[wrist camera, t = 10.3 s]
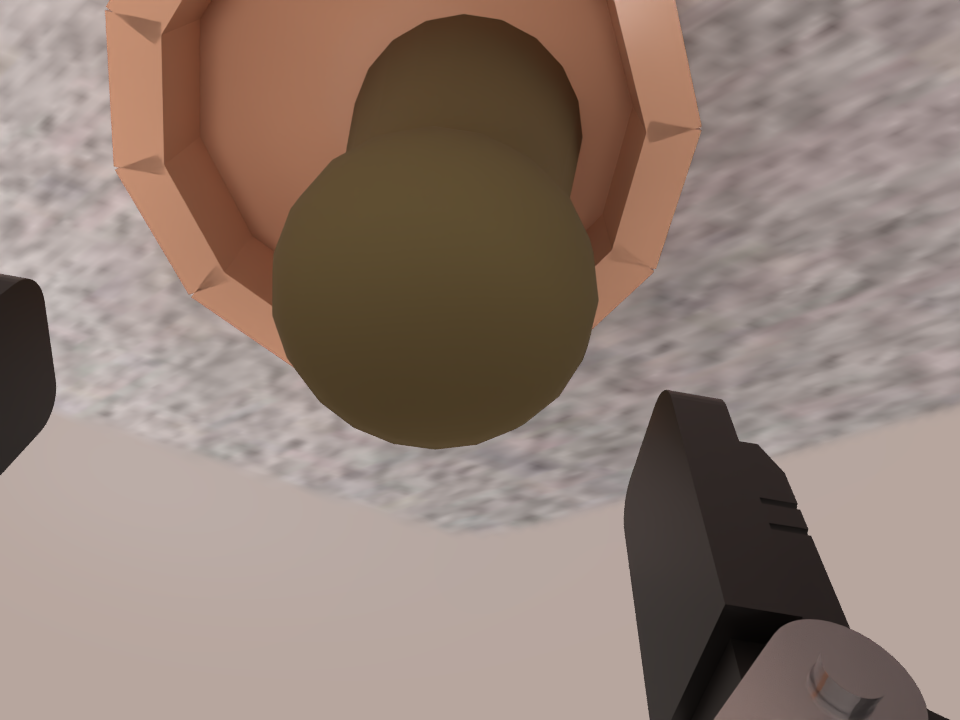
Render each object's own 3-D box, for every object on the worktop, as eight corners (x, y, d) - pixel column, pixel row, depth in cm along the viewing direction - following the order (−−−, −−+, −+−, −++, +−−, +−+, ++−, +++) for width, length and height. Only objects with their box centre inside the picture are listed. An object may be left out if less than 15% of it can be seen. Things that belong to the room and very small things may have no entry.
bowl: (740, -119, 18) (783, -121, 15) (593, 363, 25) (603, 427, 22) (161, -247, 18) (88, -275, 15) (171, 286, 24) (123, 342, 21)
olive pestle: (493, 284, 23) (477, 562, 13) (311, 164, 21) (146, 384, 12) (630, 111, 20) (731, 305, 11) (433, -41, 19) (348, 31, 9)
